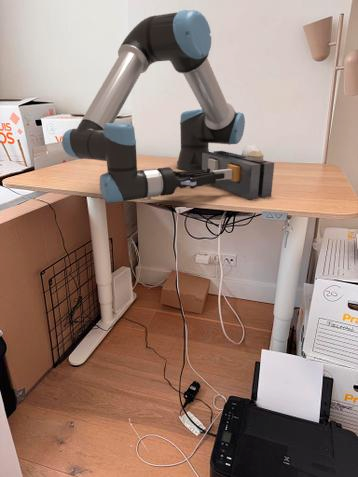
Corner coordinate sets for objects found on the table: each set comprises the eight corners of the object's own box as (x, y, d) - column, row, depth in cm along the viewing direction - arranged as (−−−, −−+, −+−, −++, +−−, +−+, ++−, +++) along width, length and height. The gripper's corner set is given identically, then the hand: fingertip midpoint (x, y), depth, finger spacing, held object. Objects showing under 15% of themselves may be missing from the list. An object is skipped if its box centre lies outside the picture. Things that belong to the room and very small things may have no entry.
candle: (262, 177, 124) (264, 150, 120) (260, 180, 119) (263, 152, 115) (247, 176, 126) (249, 149, 122) (245, 179, 121) (246, 151, 117)
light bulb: (255, 175, 128) (257, 145, 123) (238, 174, 130) (239, 145, 126) (259, 172, 133) (262, 143, 129) (243, 170, 136) (245, 142, 132)
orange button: (235, 181, 100) (236, 166, 98) (227, 178, 104) (227, 164, 102) (247, 180, 102) (248, 165, 100) (238, 177, 105) (239, 163, 104)
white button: (214, 174, 110) (215, 160, 108) (207, 172, 114) (208, 158, 112) (226, 173, 112) (226, 159, 110) (218, 170, 115) (219, 157, 114)
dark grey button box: (249, 200, 97) (251, 164, 93) (201, 180, 120) (202, 151, 117) (271, 196, 100) (274, 162, 96) (220, 178, 124) (221, 150, 120)
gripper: (150, 190, 98) (218, 181, 108) (168, 201, 87) (242, 190, 97) (149, 164, 95) (219, 157, 105) (167, 172, 85) (244, 164, 94)
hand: (230, 173), depth 101 cm, fingers closed
